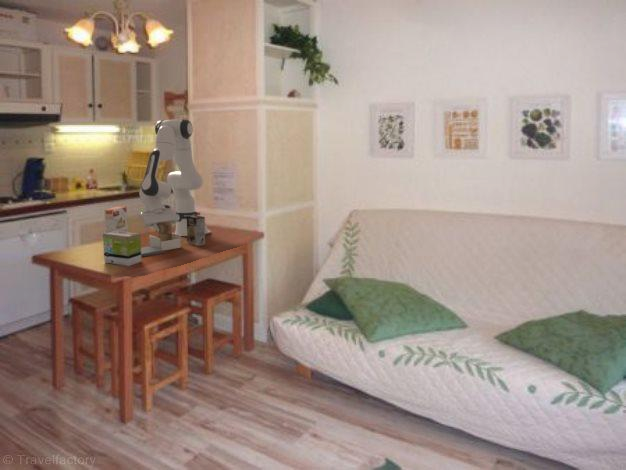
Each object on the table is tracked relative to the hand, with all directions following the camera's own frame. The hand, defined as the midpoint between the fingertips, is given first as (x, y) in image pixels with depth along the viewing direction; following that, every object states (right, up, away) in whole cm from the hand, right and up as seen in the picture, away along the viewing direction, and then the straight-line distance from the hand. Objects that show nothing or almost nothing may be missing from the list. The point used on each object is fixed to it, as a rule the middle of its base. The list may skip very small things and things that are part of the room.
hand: (165, 230), depth 304 cm
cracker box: (-30, -8, +9) cm, 32 cm away
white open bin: (-1, -10, +2) cm, 10 cm away
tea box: (-12, -16, -32) cm, 38 cm away
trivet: (-8, -12, -11) cm, 18 cm away
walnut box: (-1, -10, +2) cm, 10 cm away
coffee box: (+14, -8, +13) cm, 21 cm away
